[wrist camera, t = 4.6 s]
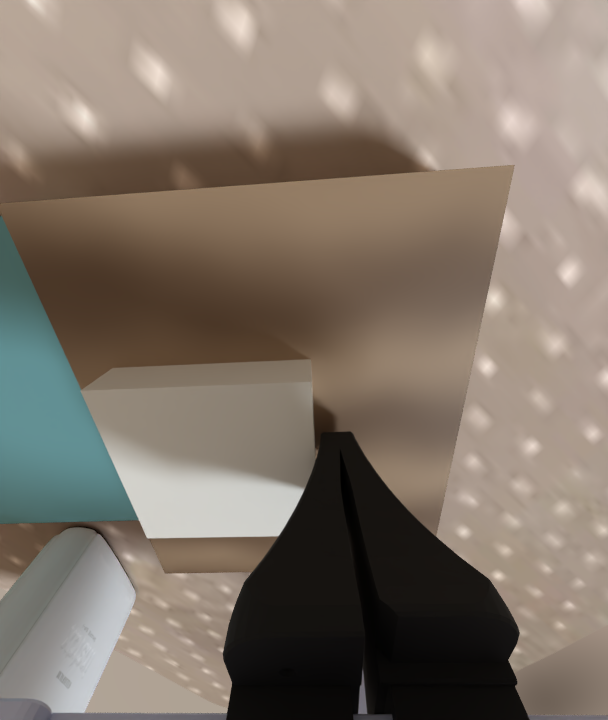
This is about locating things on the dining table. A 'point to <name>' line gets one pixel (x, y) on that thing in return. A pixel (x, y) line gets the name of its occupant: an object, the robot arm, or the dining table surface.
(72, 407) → the mat
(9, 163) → the dining table surface
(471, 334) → the wood grain panel
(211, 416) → the coaster
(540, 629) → the dining table surface
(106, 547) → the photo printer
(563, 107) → the dining table surface
